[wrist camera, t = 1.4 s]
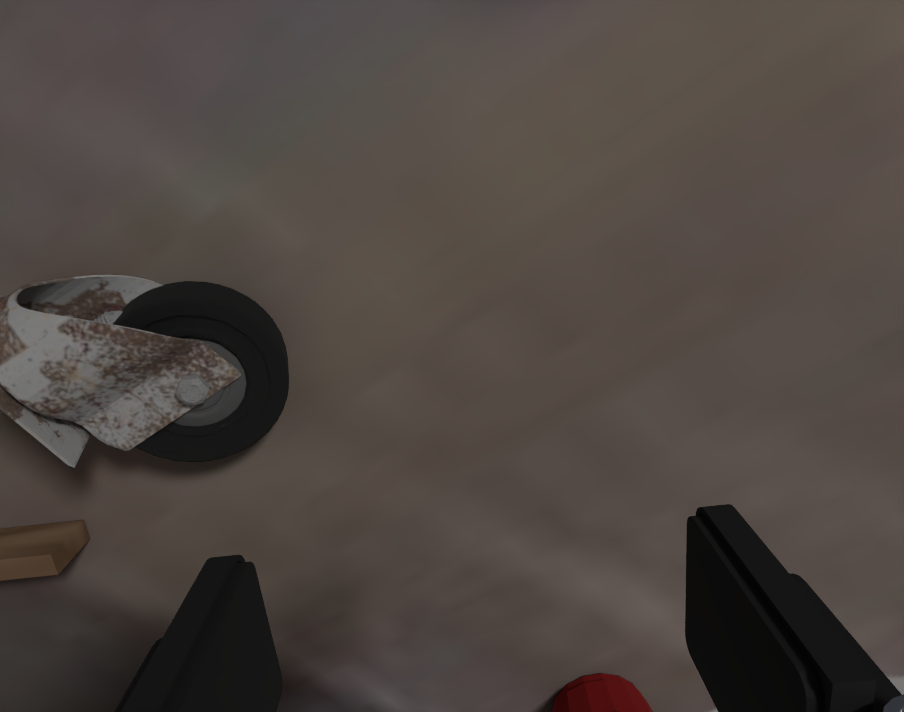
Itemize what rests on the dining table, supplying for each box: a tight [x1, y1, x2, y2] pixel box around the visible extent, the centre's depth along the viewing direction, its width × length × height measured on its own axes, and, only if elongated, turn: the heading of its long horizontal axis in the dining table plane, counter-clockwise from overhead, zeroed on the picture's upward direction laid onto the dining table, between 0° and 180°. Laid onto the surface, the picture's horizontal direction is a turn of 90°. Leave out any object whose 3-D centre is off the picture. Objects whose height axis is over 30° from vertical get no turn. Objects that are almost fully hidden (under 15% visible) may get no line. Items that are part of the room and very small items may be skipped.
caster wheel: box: [0, 275, 289, 468], centre depth 28 cm, size 7×11×10 cm
